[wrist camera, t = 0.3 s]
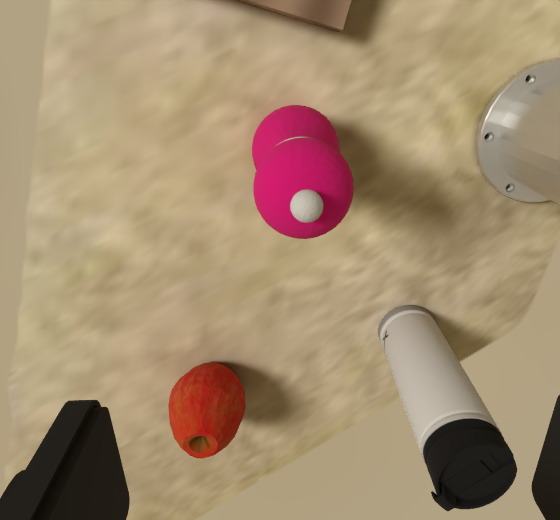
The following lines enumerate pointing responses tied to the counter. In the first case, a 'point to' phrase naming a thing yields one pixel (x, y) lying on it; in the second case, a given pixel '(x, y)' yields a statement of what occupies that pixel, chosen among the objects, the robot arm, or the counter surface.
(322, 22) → the walnut base
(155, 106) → the counter surface
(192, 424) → the apple
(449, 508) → the travel mug
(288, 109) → the pepper mill
